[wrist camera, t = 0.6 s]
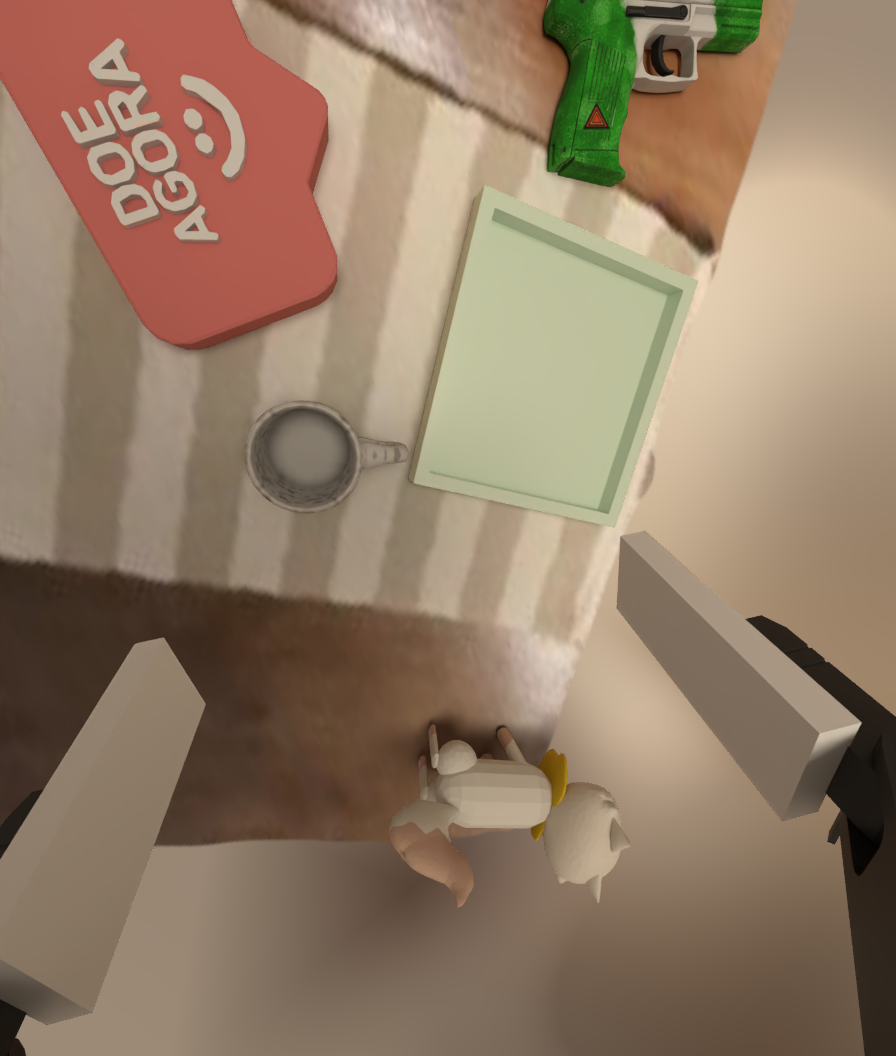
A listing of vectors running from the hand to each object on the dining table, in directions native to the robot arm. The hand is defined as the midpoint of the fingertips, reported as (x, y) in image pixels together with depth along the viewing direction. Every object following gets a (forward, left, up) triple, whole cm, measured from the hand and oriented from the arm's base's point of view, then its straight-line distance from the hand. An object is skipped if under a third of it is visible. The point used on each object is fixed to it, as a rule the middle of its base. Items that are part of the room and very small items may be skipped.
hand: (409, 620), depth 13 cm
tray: (-11, +13, -23) cm, 28 cm away
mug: (-2, -2, -23) cm, 23 cm away
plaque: (-17, -13, -23) cm, 32 cm away
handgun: (-32, +14, -23) cm, 42 cm away
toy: (+23, +16, -23) cm, 36 cm away
